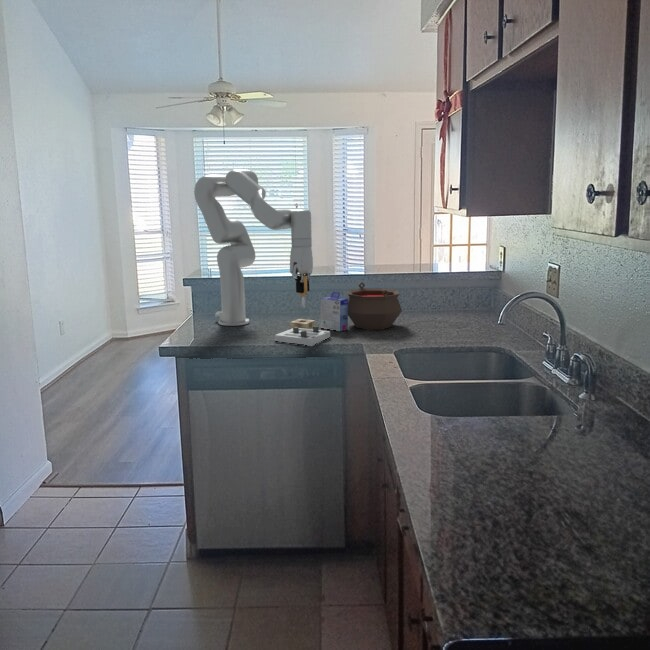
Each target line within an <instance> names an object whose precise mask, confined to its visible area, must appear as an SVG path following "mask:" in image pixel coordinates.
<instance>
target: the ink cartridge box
mask: <svg viewBox="0 0 650 650" xmlns="http://www.w3.org/2000/svg"><path fill="white" fill-rule="evenodd" d="M335 294H336V295H335ZM340 295H341V292H340V291H339V292H338V291H332V293H331V296H326V297H321V298H320V328H319V329H321V328H324V329H323V330H327V329H330V330H329V331H333V330H336V331H335V332H344V331H347V330H346V329H348V328H349V318H348V317H349V316H348V298H342V297H340ZM343 330H344V331H343Z"/></svg>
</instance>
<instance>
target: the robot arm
mask: <svg viewBox="0 0 650 650" xmlns="http://www.w3.org/2000/svg"><path fill="white" fill-rule="evenodd" d="M193 192H194V200H195V203H196V204H197V206H198V208H199V210H200V212H201V214H202V216H203V219H204V222H205V224H206V227H207V229H208V232H209V234H210V236H211V239H212V240H213V242H214V243H216V244H217V245H226V244H229V245H226V246H222V247H221V248H220V249H219V250H218V252H217V255H216V260H217V261H216V262H217V266H218V271H219V283H220V300H221V311H216V312H215V314H214V316H215V317H217V318H219V319H218V322H217V323H218V325H221V326H226V327H232V326H233V327H234V326H236V327H238V326H245V325H247V324H250V318H247V317H246V296H245V294H246V293H245V292H246V291H245V276H244V275H243V274H244V273H243V272H242V268H246V267H250V266H251V265H253V264H254V263H255V261H256V252H255V249H254V246H253V245H254V244H253V243H252V240H251V237H250V236H249V234H248V230H247V229H246V228H247V227H246V226H245V225H244V223H242V221H240V220H239V219H234V218H231V219H229V218H228V217H227V214H226V212H225V210H224V208H223V206H222V205H221V203H220V202H219V201H218V200H217V199H216V197H219V198H220V197H231V196H232V197H233V196H235V195H236V196H238V198H239V199H241V200H242V201H244V202H245V203H246V204H247V206H249V207H250V210H251V212H252V215H253V216H254V218H256V220H257V221H259V222H260V223H261V224H262V225H264V226H265V227H266V228H268V229H269V230H273V231H279V230H280V231H282V230H289V229H290V230H291V231H290V232H291V248H290V252H289V253H290V255H289V258H290V259H289V273H290V274H291V276H292V278H293V279H294V282H295V292H296V293H298V294H299V293H304V282H303V276H307V292H310V280H311V275H312V273H313V269H314V264H313V263H314V260H313V257H314V256H313V249H312V245H313V244H312V243H313V242H312V239H313V238H312V213H311V210H309V209H292V208H277V209H275V208H274V207H272V205H270V204H268V202H267V201H266V200H265V198H266V195H267V193H266V190H265V187H263V186H261V185H260V184H259V178H258V175H257V174H256V172H254V171H253V170H251V169H233V170H232V169H231V170H229V171H228V173H227V174H207V175H204V176H201V177H199V178H198V180H197V181H196V183H195V186H194V191H193ZM299 276H300V277H299Z"/></svg>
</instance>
